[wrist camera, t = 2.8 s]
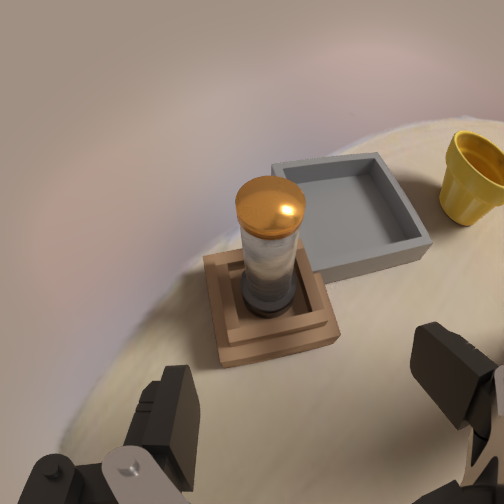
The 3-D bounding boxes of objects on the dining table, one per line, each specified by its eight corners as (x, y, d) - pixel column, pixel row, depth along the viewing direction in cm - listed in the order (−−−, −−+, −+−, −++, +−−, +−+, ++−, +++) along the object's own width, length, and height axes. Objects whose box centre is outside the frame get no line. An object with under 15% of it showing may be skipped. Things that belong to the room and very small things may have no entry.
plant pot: (412, 188, 36) (438, 132, 27) (453, 173, 37) (478, 126, 29) (459, 248, 30) (499, 198, 22) (495, 224, 32) (528, 180, 24)
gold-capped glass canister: (286, 267, 27) (298, 165, 17) (299, 312, 25) (325, 226, 14) (238, 276, 26) (221, 178, 16) (248, 323, 24) (235, 243, 14)
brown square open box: (303, 252, 31) (309, 226, 27) (333, 343, 26) (345, 329, 22) (208, 271, 30) (199, 247, 26) (224, 368, 25) (217, 359, 21)
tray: (371, 171, 37) (377, 152, 34) (420, 259, 30) (433, 242, 27) (271, 185, 36) (271, 164, 33) (305, 288, 29) (310, 271, 26)
